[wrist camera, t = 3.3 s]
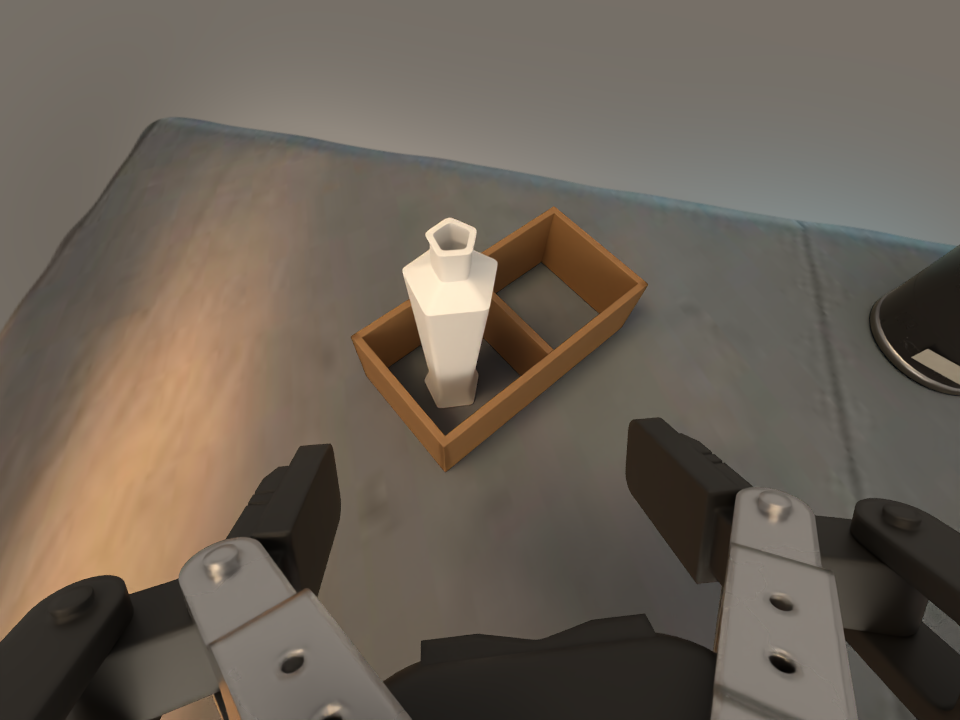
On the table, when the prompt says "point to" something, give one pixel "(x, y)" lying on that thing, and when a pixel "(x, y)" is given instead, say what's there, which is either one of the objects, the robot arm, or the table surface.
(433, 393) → the perfume bottle
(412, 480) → the table surface
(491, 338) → the divided tray
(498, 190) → the table surface
